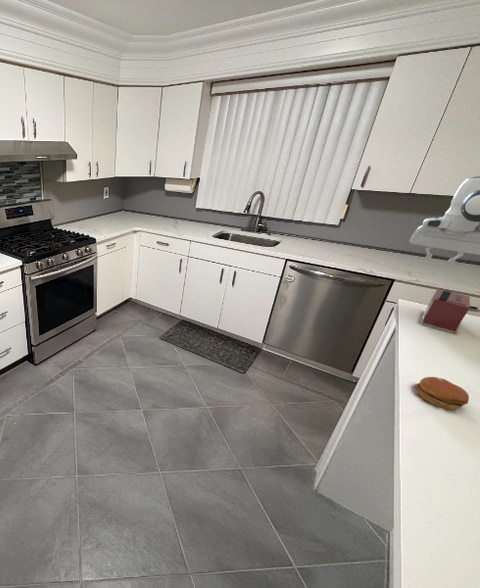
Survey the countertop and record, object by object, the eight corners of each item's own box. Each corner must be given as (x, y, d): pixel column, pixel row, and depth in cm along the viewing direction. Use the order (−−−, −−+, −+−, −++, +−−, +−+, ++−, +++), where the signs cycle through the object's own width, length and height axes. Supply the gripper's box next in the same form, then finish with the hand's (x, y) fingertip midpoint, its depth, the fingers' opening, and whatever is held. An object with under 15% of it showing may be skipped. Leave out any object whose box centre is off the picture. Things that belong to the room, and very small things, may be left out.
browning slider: (439, 296, 119) (443, 289, 117) (446, 298, 117) (451, 291, 116) (439, 298, 117) (443, 291, 116) (446, 300, 116) (451, 292, 115)
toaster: (423, 312, 132) (437, 288, 127) (455, 320, 125) (470, 296, 121) (420, 323, 122) (434, 299, 118) (454, 333, 116) (470, 307, 112)
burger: (433, 409, 81) (442, 395, 79) (405, 385, 90) (412, 372, 88) (475, 413, 80) (485, 399, 78) (442, 388, 89) (450, 375, 87)
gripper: (503, 228, 105) (480, 266, 110) (420, 218, 118) (403, 252, 124) (505, 230, 101) (481, 270, 107) (418, 220, 115) (401, 255, 120)
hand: (438, 260), depth 116 cm, fingers open, 5 cm apart
